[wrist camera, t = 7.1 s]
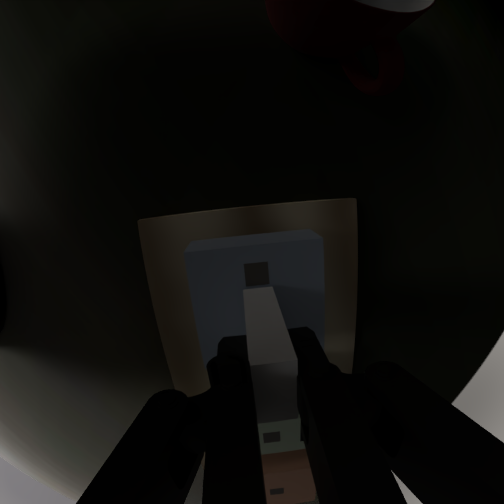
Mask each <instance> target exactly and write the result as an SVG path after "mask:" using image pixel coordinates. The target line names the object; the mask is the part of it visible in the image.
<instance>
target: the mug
mask: <svg viewBox="0 0 504 504" xmlns="http://www.w3.org/2000/svg"><path fill="white" fill-rule="evenodd" d="M435 1H436V0H265V4H266V10H267V15H268V18H269V21H270V23H271V25H272V27H273V28H274V30H275V31H276V33H277V34H278V35H279V36H280V38H281V39H282V40H283V41H284V42H286V43H287V44H288V45H289V46H291V47H292V48H293V49H295V50H297V51H299V52H301V53H304V54H307V55H311V56H316V57H325V58H336V59H338V61H339V62H340V64H341V66H342V68H343V70H344V71H345V73H346V75H347V76H348V78H349V80H350V81H351V82H352V84H353V85H354V86H355V87H356V88H357V89H358V90H360V91H361V92H363V93H365V94H367V95H370V96H383V95H387V94H389V93H391V92H393V91H394V90H395V89H396V88H397V87H398V86H399V85H400V83H401V82H402V79H403V76H404V69H405V63H404V56H403V52H402V50H401V47H400V45H399V43H398V41H397V39H396V36H397V34H398V33H400V32H401V31H402V30H403V29H405V28H406V27H407V26H408V25H410V24H411V23H412V22H414V21H415V20H416V19H417V18H419V17H420V16H421V15H422V14H423V13H425V12H426V11H427V10H428V9H430V8H431V7H432V6H433V4H434V3H435ZM369 45H372V47H373V49H374V51H375V53H376V55H377V58H378V62H379V74H378V77H377V79H375V78H373V77H372V76H371V75H370V74H369V73H368V72H367V71H366V70H365V68H364V67H363V66H362V65H361V63H360V62H359V60H358V59H357V57H356V56H355V53H356V52H357V51H359V50H361V49H362V48H364V47H366V46H369Z"/></svg>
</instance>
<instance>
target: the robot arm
mask: <svg viewBox="0 0 504 504" xmlns="http://www.w3.org/2000/svg"><path fill="white" fill-rule="evenodd" d="M243 298H244V311H245V323H246V335H238V336H228V337H223V338H222V339H221V340H220V342H219V343H218V349H217V356H215V357H213V358H212V359H211V360H209V361H208V363H207V365H206V368H207V372H208V377H209V381H210V386H211V387H210V389H208V390H207V391H205V392H204V393H201V394H198V395H195V396H191V397H187V395H186V394H184V393H183V392H182V391H179V390H170V389H168V390H163V391H160V392H158V393H156V394H154V395H153V396H152V397H151V398H150V399H149V400H148V401H147V403H146V404H145V406H144V407H143V409H142V410H141V411H140V413H139V414H138V416H137V417H136V419H135V420H134V421H133V423H132V424H131V426H130V427H129V429H128V430H127V431H126V433H125V434H124V436H123V437H122V439H121V440H120V441H119V443H118V444H117V446H116V447H115V449H114V450H113V451H112V453H111V454H110V456H109V457H108V459H107V460H106V461H105V463H104V464H103V466H102V467H101V469H100V470H99V471H98V473H97V474H96V476H95V477H94V479H93V480H92V481H91V483H90V484H89V486H88V487H87V489H86V490H85V491H84V493H83V494H82V496H81V497H80V499H79V500H78V501H77V503H76V504H184V502H185V500H186V497H187V495H188V493H189V490H190V488H191V486H192V483H193V481H194V478H195V476H196V474H197V471H198V469H199V466H200V464H201V461H202V459H203V456H204V452H205V464H204V480H203V497H202V504H267V500H266V492H265V483H264V475H263V466H262V457H261V448H260V440H259V431H258V424H260V423H269V422H277V421H284V420H291V419H297V418H298V412H299V415H300V419H301V426H300V442H301V441H304V444H305V448H306V452H307V456H308V460H309V464H310V468H311V472H312V476H313V480H314V484H315V488H316V491H317V495H318V499H319V503H320V504H407V502H406V500H405V498H404V496H403V494H402V492H401V490H400V488H399V485H398V483H397V481H396V479H395V477H394V475H393V473H392V472H391V470H392V471H393V472H394V473H395V475H396V476H397V477H398V478H399V479H400V480H401V481H402V482H403V483H404V484H405V485H406V486H407V487H408V489H409V490H410V491H411V492H412V493H413V494H414V495H415V496H416V497H417V498H418V499H419V500H420V501H421V502H422V503H423V504H504V443H503V442H502V441H500V440H499V439H498V438H496V437H495V436H493V435H492V434H491V433H490V432H488V431H487V430H485V429H484V428H483V427H481V426H480V425H479V424H477V423H476V422H474V421H473V420H472V419H470V418H469V417H468V416H467V415H465V414H464V413H463V412H461V411H460V410H458V409H457V408H456V407H454V406H453V405H452V404H450V403H449V402H448V401H446V400H445V399H444V398H442V397H441V396H440V395H438V394H437V393H436V392H434V391H433V390H432V389H430V388H429V387H428V386H426V385H425V384H423V383H422V382H421V381H419V380H418V379H417V378H415V377H414V376H413V375H411V374H410V373H409V372H407V371H406V370H405V369H403V368H402V367H401V366H399V365H397V364H395V363H393V362H388V361H379V362H376V363H373V364H371V365H369V366H368V367H367V369H366V370H365V374H346V373H342V372H341V370H340V369H339V368H338V367H337V366H336V365H334V364H332V363H330V362H329V360H328V358H327V356H326V354H325V352H324V350H323V348H322V346H321V345H320V342H319V340H318V339H317V336H316V334H315V332H314V331H313V330H311V329H310V328H308V327H307V326H306V327H298V328H291V329H287V327H286V324H285V322H284V319H283V316H282V313H281V310H280V307H279V304H278V301H277V298H276V295H275V293H274V290H273V287H263V288H254V289H244V290H243ZM5 317H6V293H5V285H4V279H3V274H2V269H1V265H0V333H1V331H2V329H3V326H4V322H5Z"/></svg>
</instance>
